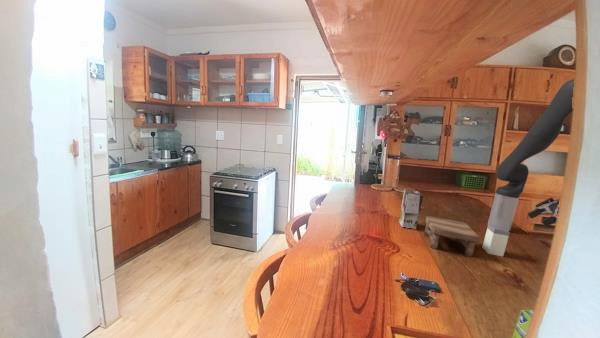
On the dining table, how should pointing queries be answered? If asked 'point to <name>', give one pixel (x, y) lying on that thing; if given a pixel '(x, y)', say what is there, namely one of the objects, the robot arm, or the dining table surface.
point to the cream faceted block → (495, 240)
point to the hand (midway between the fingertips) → (536, 220)
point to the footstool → (450, 233)
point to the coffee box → (410, 208)
